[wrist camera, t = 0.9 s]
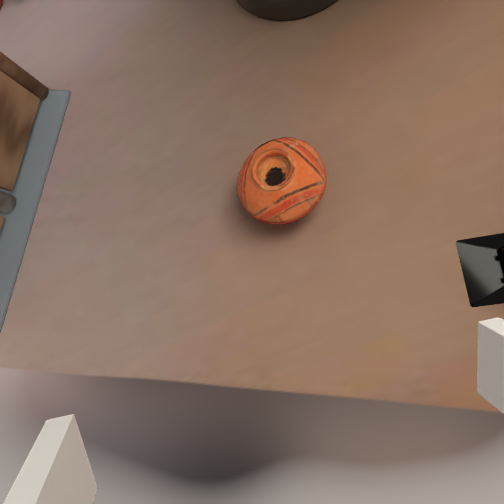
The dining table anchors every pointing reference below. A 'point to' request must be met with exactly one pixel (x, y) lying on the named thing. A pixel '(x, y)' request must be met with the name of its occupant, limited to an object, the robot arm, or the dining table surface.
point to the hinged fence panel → (1, 221)
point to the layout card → (28, 190)
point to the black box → (483, 268)
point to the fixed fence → (15, 122)
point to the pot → (281, 181)
